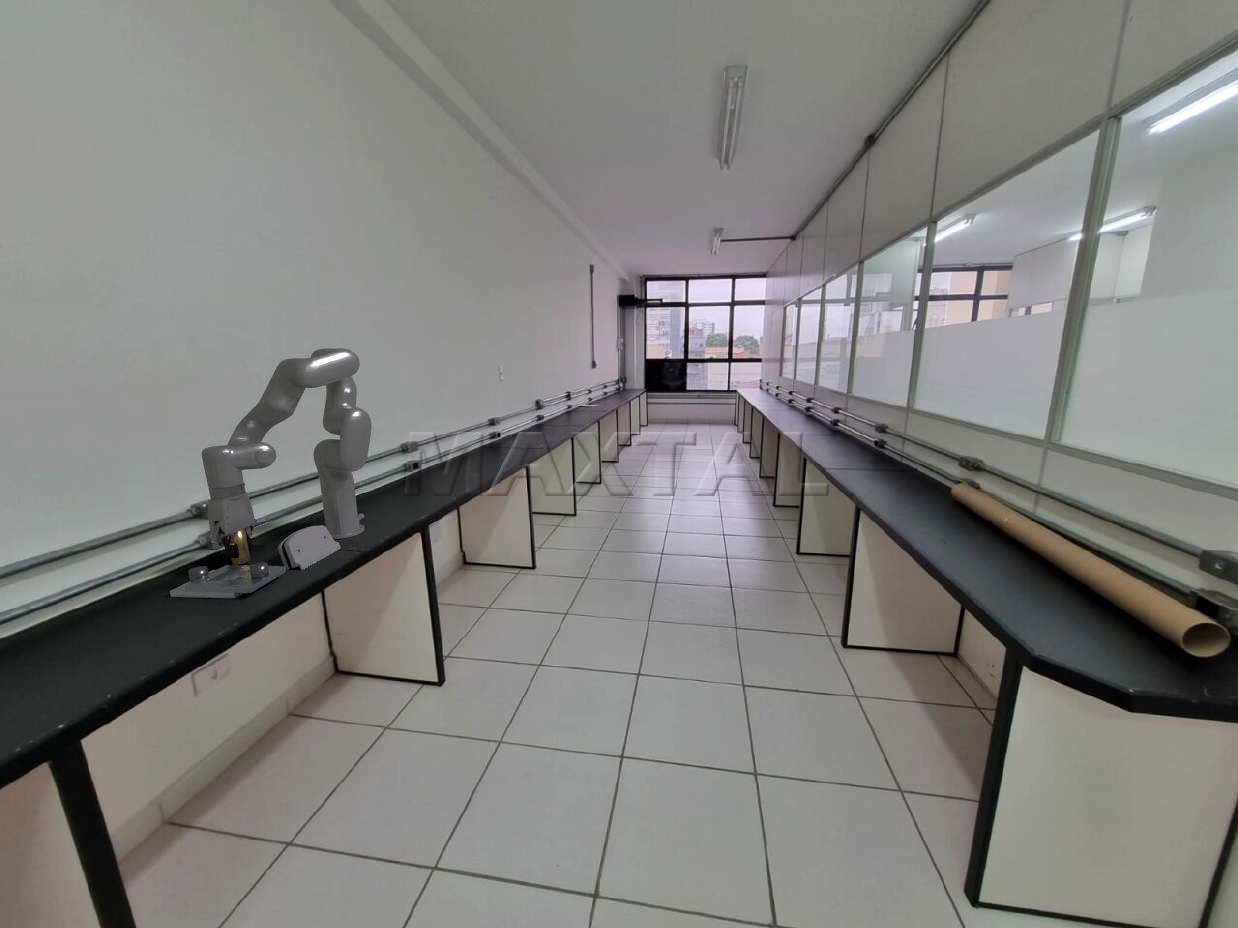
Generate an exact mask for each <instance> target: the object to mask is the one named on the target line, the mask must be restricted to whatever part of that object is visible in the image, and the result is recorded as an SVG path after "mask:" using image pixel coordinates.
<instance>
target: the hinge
mask: <svg viewBox="0 0 1238 928" xmlns="http://www.w3.org/2000/svg"><path fill="white" fill-rule="evenodd" d="M341 548H342V547H341V545H340V543H339V542H338V541H335V539H333V538H332V536H331V535H330V533H329V531H328V530H327V528H326V525H312V526H307V527H305V528H301V529H298V530H297V531H294V532H292V533H291V534H290V535H288V536H287V537H285V538H284V539H283V540H282V541H281V542H280V544H278V545H277V550H278V552H279V553H278V554H279V556H280V559H281V561H282V563H283V566H285V568H286V571H288V570H290V569H292V568H297V567H299V569H300V570H301V571H304V570H306V569H307V568H309V567H311V566H313V565H314V564H316V563H318V562H319V561H321V560H323V559H325V558H327V557H328V556H329V555H331V554H333V553H335V552H337V551H338V550H341ZM317 561H318V562H317ZM312 564H313V565H312ZM310 565H311V566H310ZM308 566H309V567H308ZM305 568H306V569H305ZM303 569H304V570H303Z"/></svg>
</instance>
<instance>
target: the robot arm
mask: <svg viewBox="0 0 1238 928" xmlns="http://www.w3.org/2000/svg"><path fill="white" fill-rule="evenodd" d="M360 364H361V362H360V359H359V357H358V355H357V354H356V353H355V352H354V351H352V350H351V349H349V348H348V349H347V348H343V347H342V348H339V347H338V348H330V347H329V348H328V347H327V348H326V347H325V348H318V349H316V350H314V351H313V352H312V353H311V355H310V357H304V358H299V357H298V358H295V357H293V358H285V359H283V360H281V361H280V362H278V365H277V366H276V368H275V370H274V372H273V374H272V376H271V378H270V380H269V382H268V384H267V386H266V388H265V390H264V392H263V394H262V396H261V397H260V399H259V401H258V402H257V403H256V405H255V406H253V407H252V408H251V410H250V411H249V412H247V414H246V415H245V416H244V417H242V419H241V420H240V421H239V422H238V424H237V425H236V427H235V429H234V431H233V433H232V434H231V436H230V438H229V440H228V442H227V444H223V445H222V444H221V445H214V446H209V447H206V448H204V449H202V451H201V458H202V463H203V469H204V473H205V479H206V483H207V488H208V493H209V497H210V499H208V501H207V517H208V526H209V531H210V534H211V541H213V542H217V543H220V544H221V546H224V551H225V555H226V558H227V559H232V558H239V551H238V546H237V544H235V535H234V533H236V532H238V531H240V530H242V529H245V533H246V538H247V543H248V549H249V552H252V551H253V550H254V548H253V544H252V537H253V530H254V527H255V526H256V524H258V523H257V522H258V520H257V519H256V518H255V513H254V509H253V506H252V505H253V504H252V503H251V500H250V497H249V494H248V492H247V491H246V487H245V486H246V483H245V481H244V476H243V472H242V471H247V470H259V469H260V470H261V469H265V468H267V467H270V466H272V464H274V463H275V461H276V459H277V452H276V449H275V448H274V447H273V446H272V445H270V444H269V443H266V442H263V439H264V438H265V436H266V434H268V432H269V431H270V430H271V429H272V428H273V427H275V426H276V425H278V424H280V423H282V422H284V421H286V420H288V419H289V418H290V417H292V416H293V415H294V413H295V411H296V409H297V407H298V405H299V402H300V400H301V399H302V396H303V394H304V392H305V390H306V389H315V388H316V389H317V388H320V387H324V386H325V387H326V388H325V389H326V391H325V393H326V396H325V403H324V409H323V416H322V426H323V428H324V430H325V431H326V433H329V434H332V435H335V436H339V439H338V438H337V439H336V438H328V439H323V440H321V441H319V442H318V443H317V444H315V445H316V446H315V447H314V449H313V461H314V464H315V467H316V470H317V473H318V478H319V485H320V491H321V492H320V493H321V501H322V507H323V508H322V509H323V510H322V511H323V514H324V515H323V517H324V524H325V525H324V526H325V527H326V528H327V530H328V531H329V533H330V535H331V536H332V538H333V540H341V539H346V538H347V539H348V538H352V537H355V536H358V535H361V534H362V533H363V532H364V531H365V525H364V524H361V523H360V522H361V521H360V520H362V519H364V518H365V514H364V513H361V512H360V513H359V514H358V507H357V498H356V488H355V486H356V485H355V479H354V475H353V473H352V472H356V471H357V472H358V471H359V470H361V469H362V468H363V467H364V465H365V464H366V463H367V460H368V456H369V451H370V450H369V449H370V443H371V437H372V430H373V429H372V425H373V424H372V419H371V417H370V415H369V414H368V413H367V411H366V410H364V409H363V408H360V407H358V406H357V397H358V395H357V394H358V393H357V392H358V390H357V385H356V382H355V380H354V379H353V376H354V375H355V374H357V373H358V371H359V369H360ZM227 536H229V539H228V538H227Z"/></svg>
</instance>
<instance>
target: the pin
mask: <svg viewBox="0 0 1238 928" xmlns="http://www.w3.org/2000/svg"><path fill="white" fill-rule="evenodd" d="M234 535H235V544H237V546H238V551H239V558H231V561H232V562H231V563H232V565H242V564H243V565H244V564H246V563H248V562H250V561H251V556H250V555H251V553H250V551H249V549H248V543H247V538H246V533H245V529H242V530H240V531H238V532H236V533H234ZM227 539H229V536H227Z"/></svg>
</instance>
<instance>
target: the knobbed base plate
mask: <svg viewBox="0 0 1238 928" xmlns="http://www.w3.org/2000/svg"><path fill="white" fill-rule="evenodd" d="M285 573H287V570H286V568H285V566H284V565H283V566H281V565H269V564H268V562H267V561H266V562H264V561H261V562H260V561H259V562H255V563H253V564H251V565H246V564H245V565H244V564H243V565H242V564H226V565H224V566H221V567H220V568H218V569H212V570H210V571H209V568H208V566H205V565H203V566H202V565H201V566H197V567H192V568H190V569H189V570H188V576H189V581H187V582H186V583H183V584H181V585H180V586H177V587H176V588H173V589H171V590H169V593H170V594H169V595H170V597H171V598H196V599H197V598H199V599H200V598H201V599H205V598H206V599H237V598H238V597H240V596H242V595H244V594H251V593H253V592H255V591H257V590H258V589H260V588H261V587H263V586H264V585H266V584H268V583H270V582H271V581H273V580H274V579H276V578H278V577H280V576H281V575H283V574H285Z"/></svg>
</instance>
